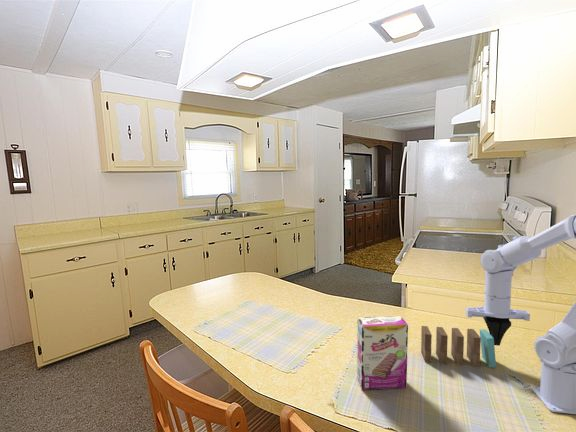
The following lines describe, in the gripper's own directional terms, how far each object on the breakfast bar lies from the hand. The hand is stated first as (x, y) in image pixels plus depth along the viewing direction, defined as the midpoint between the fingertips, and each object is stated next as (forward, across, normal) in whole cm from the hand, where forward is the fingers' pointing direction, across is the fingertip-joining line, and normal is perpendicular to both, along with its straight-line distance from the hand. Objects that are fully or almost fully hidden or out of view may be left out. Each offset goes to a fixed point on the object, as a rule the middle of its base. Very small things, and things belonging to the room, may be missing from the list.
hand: (495, 343), depth 84 cm
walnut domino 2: (+6, +13, 0) cm, 14 cm away
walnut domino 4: (+6, +5, 0) cm, 8 cm away
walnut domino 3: (+6, +9, 0) cm, 11 cm away
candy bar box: (+6, +30, +14) cm, 34 cm away
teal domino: (+5, +1, 0) cm, 6 cm away
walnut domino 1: (+6, +17, 0) cm, 18 cm away
